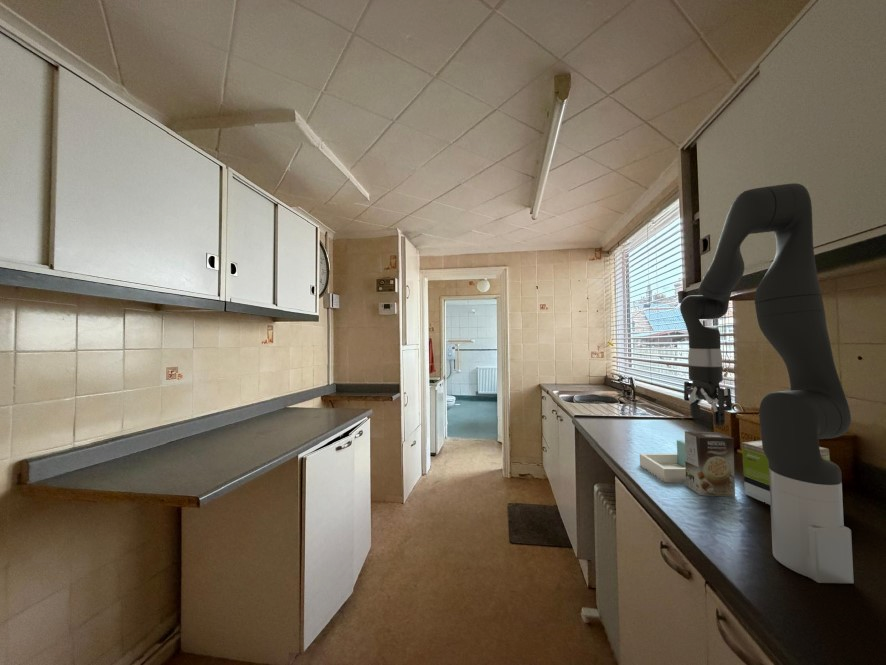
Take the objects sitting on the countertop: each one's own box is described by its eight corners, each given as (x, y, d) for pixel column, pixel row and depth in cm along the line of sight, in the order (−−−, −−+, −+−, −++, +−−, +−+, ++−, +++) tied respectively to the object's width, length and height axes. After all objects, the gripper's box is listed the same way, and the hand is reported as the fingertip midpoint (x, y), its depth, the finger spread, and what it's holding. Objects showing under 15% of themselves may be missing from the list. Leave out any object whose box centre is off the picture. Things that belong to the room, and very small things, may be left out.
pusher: (706, 476, 97) (705, 450, 97) (701, 476, 97) (700, 450, 97) (682, 462, 107) (681, 440, 107) (677, 463, 107) (676, 440, 108)
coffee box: (700, 496, 88) (698, 437, 88) (685, 485, 94) (683, 430, 94) (736, 497, 87) (734, 437, 87) (718, 486, 93) (716, 431, 93)
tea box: (786, 489, 91) (784, 437, 91) (835, 507, 81) (832, 448, 81) (742, 494, 88) (740, 440, 89) (786, 513, 78) (784, 453, 79)
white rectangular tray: (726, 482, 95) (725, 468, 95) (664, 482, 96) (664, 469, 96) (694, 465, 108) (693, 453, 108) (640, 465, 109) (639, 453, 109)
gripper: (740, 366, 84) (742, 428, 84) (699, 362, 98) (701, 414, 98) (711, 366, 84) (713, 428, 84) (674, 362, 98) (675, 415, 98)
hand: (706, 421), depth 91 cm, fingers open, 8 cm apart
